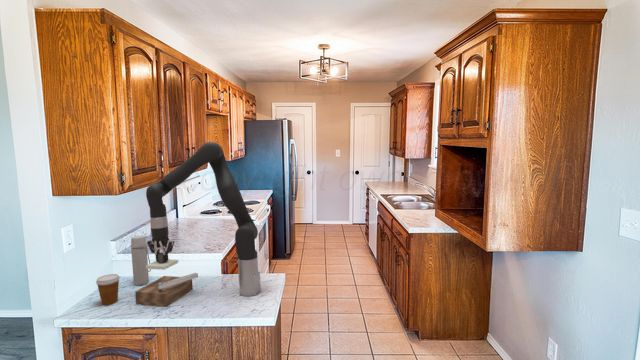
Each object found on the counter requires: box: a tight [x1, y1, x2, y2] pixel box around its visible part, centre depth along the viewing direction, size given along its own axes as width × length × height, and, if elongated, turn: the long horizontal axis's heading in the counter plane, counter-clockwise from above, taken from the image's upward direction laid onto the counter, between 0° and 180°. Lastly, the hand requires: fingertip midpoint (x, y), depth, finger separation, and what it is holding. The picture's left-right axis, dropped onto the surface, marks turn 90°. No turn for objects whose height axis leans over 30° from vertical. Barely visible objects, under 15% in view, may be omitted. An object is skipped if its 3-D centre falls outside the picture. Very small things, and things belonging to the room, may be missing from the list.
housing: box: [134, 275, 194, 308], centre depth 172 cm, size 16×20×8 cm
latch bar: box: [157, 272, 199, 289], centre depth 168 cm, size 2×19×2 cm, turn 138°
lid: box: [146, 251, 179, 271], centre depth 171 cm, size 10×10×6 cm
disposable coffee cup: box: [95, 273, 120, 306], centre depth 167 cm, size 10×10×12 cm
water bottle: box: [130, 234, 152, 286], centre depth 190 cm, size 9×8×25 cm
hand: (162, 261), depth 171 cm, fingers closed on lid, 3 cm apart
